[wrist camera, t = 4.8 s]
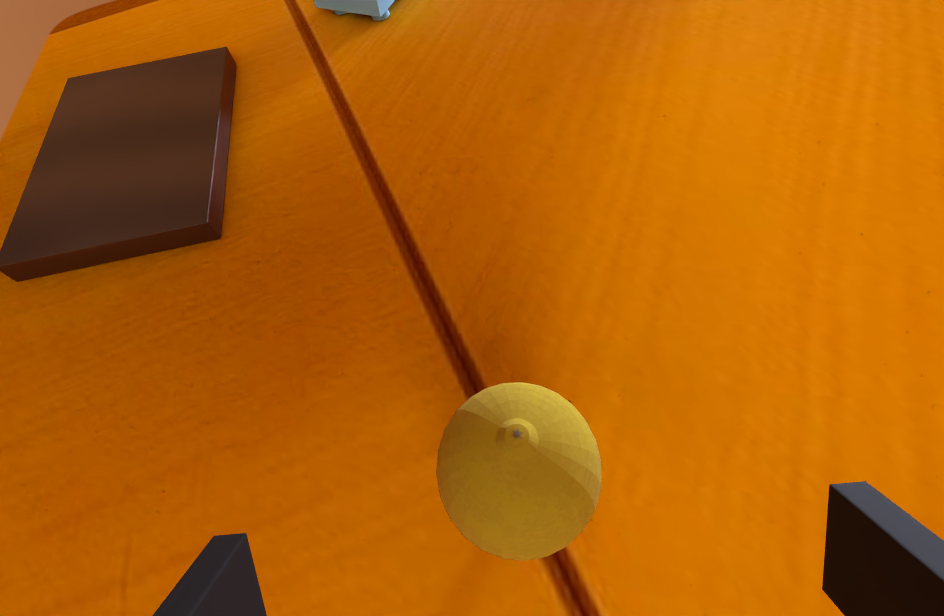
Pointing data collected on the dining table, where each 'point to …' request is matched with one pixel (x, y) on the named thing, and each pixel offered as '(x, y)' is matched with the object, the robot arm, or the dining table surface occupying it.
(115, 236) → the cutting board
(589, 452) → the lemon
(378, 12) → the knobbed blue-grey cube
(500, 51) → the dining table surface
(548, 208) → the dining table surface
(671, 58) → the dining table surface
